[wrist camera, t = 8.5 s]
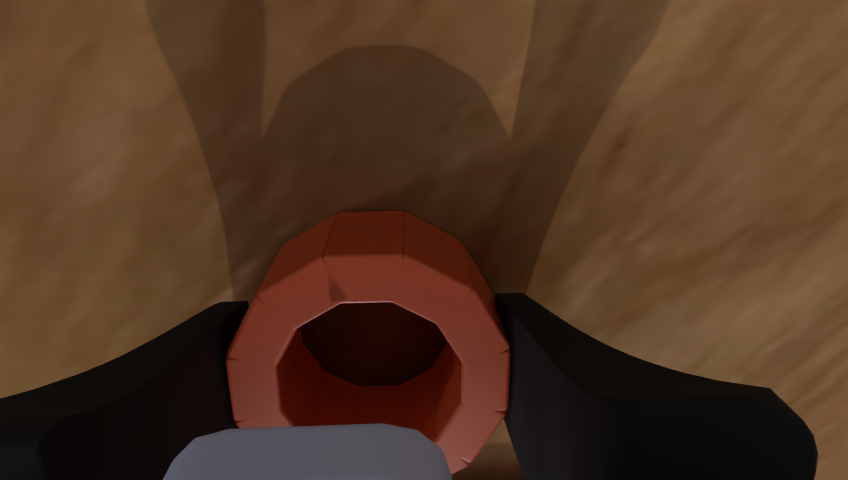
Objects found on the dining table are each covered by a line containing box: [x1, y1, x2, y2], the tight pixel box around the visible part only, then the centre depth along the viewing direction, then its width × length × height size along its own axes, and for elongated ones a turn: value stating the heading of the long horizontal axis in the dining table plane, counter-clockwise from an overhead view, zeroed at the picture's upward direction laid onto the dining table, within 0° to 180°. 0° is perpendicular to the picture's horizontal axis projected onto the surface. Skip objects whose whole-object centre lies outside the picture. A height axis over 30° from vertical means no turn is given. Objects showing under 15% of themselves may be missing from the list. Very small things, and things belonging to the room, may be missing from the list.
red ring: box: [225, 211, 511, 474], centre depth 13 cm, size 6×6×3 cm
